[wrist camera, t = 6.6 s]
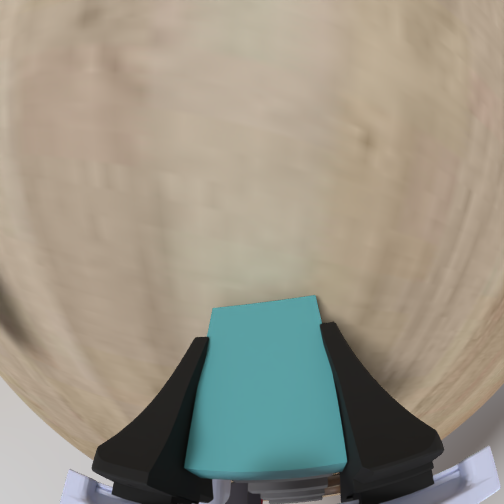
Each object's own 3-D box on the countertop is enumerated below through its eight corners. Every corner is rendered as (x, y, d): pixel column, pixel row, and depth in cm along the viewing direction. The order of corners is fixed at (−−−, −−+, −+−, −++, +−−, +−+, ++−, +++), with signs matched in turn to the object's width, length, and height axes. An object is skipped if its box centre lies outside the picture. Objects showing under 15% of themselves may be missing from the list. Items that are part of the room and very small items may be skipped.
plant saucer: (361, 480, 47) (362, 490, 44) (286, 488, 46) (286, 499, 43) (406, 456, 37) (409, 469, 34) (315, 471, 35) (317, 487, 33)
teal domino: (316, 318, 13) (342, 471, 7) (221, 330, 14) (200, 478, 7) (315, 295, 13) (347, 461, 6) (212, 308, 13) (183, 468, 6)
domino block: (317, 396, 19) (326, 487, 12) (255, 403, 20) (252, 493, 13) (317, 387, 18) (328, 484, 11) (251, 394, 19) (247, 490, 12)
